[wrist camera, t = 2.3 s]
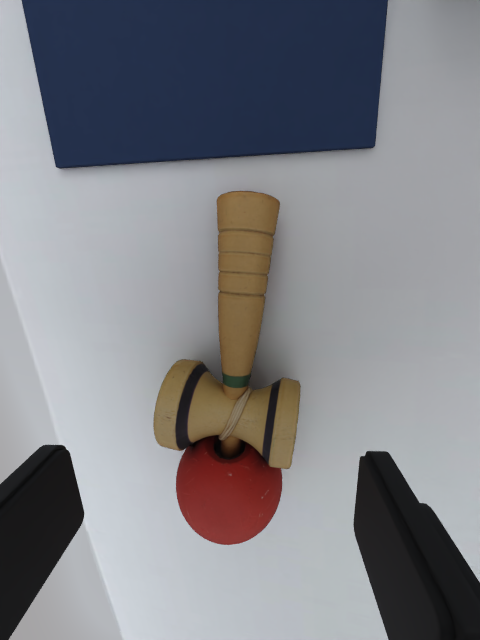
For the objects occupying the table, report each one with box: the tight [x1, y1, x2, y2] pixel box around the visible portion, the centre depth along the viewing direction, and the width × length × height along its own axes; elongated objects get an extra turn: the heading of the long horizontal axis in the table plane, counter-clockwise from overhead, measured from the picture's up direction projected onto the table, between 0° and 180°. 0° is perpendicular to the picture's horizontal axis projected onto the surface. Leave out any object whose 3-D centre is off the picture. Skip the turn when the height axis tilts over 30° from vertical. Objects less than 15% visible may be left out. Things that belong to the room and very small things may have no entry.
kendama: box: [154, 191, 300, 545], centre depth 15 cm, size 8×6×18 cm
